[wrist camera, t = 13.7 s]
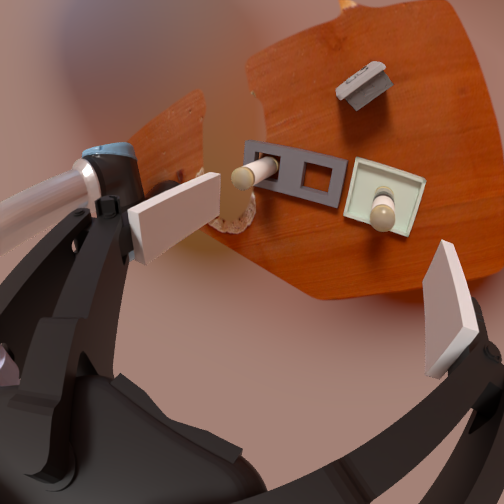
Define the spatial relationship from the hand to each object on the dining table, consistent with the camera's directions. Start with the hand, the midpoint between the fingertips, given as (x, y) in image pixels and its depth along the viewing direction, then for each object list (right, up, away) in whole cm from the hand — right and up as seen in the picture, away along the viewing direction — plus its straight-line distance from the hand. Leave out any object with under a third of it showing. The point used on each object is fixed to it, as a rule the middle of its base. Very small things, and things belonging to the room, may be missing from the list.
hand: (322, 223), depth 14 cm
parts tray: (+20, +9, +31) cm, 38 cm away
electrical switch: (+16, +27, +23) cm, 39 cm away
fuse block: (+4, +14, +37) cm, 40 cm away
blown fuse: (+20, +9, +30) cm, 37 cm away
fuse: (0, +16, +39) cm, 42 cm away
